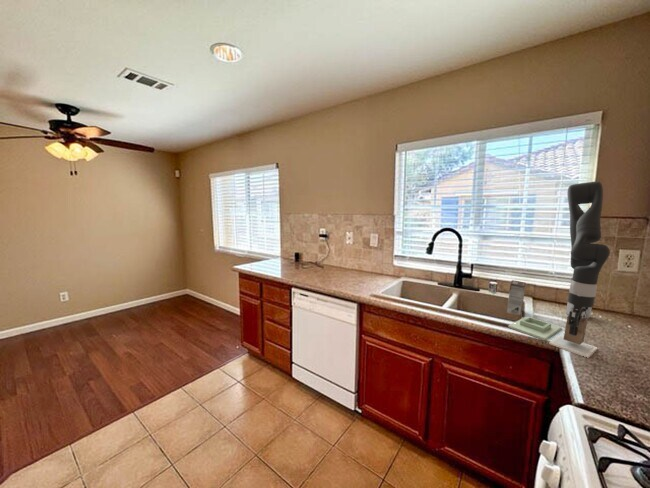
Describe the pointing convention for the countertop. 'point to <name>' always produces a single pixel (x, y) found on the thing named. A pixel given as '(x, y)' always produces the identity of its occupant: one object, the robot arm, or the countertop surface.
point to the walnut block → (580, 333)
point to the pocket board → (535, 327)
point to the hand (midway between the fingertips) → (575, 332)
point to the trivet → (573, 346)
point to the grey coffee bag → (516, 297)
